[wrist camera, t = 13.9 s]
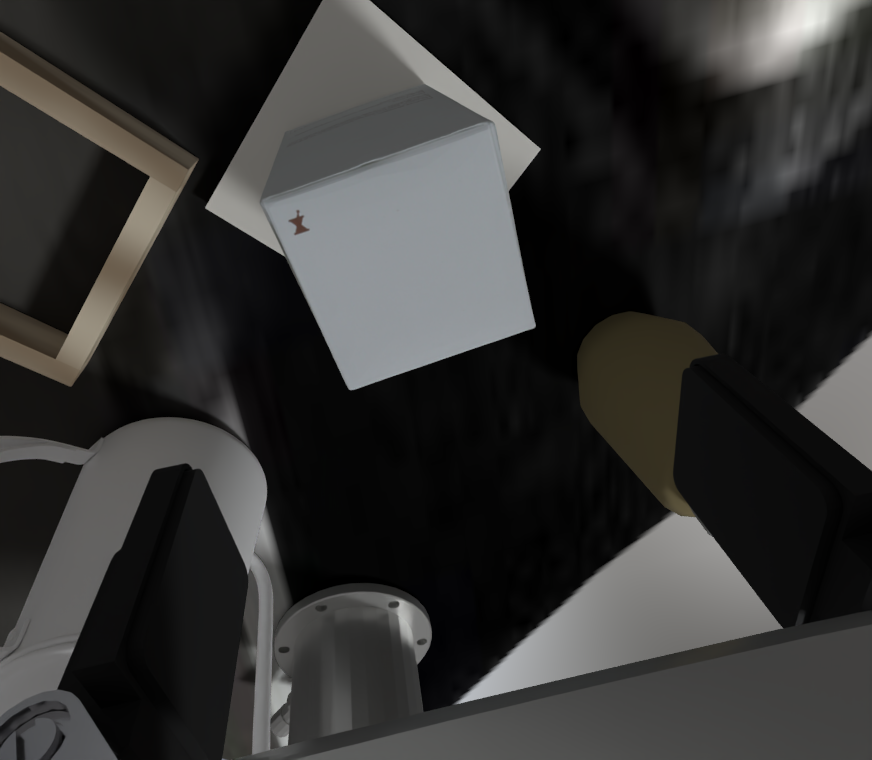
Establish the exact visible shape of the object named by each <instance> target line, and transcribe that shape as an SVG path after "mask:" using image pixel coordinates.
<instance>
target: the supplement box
mask: <svg viewBox="0 0 872 760" xmlns="http://www.w3.org/2000/svg"><path fill="white" fill-rule="evenodd" d="M260 205H261V207H262V209H263V212H264V214H265V216H266V218H267V220H268V222H269V224H270V226H271V228H272V230H273V232H274V234H275V236H276V238H277V240H278V243H279V245H280V247H281V249H282V251H283V253H284V255H285V257H286V259H287V261H288V263H289V265H290V267H291V269H292V271H293V274H294V276H295V278H296V280H297V282H298V284H299V286H300V288H301V290H302V292H303V294H304V296H305V298H306V300H307V302H308V304H309V307H310V309H311V311H312V313H313V315H314V317H315V319H316V321H317V323H318V325H319V327H320V329H321V331H322V333H323V336H324V338H325V340H326V342H327V344H328V346H329V348H330V350H331V353H332V355H333V357H334V359H335V361H336V363H337V366H338V368H339V370H340V372H341V374H342V377H343V379H344V381H345V383H346V385H347V387H348V389H350V390H354V389H357V388H360V387H363V386H366V385H368V384H371V383H374V382H377V381H380V380H383V379H386V378H389V377H391V376H394V375H397V374H400V373H403V372H406V371H409V370H412V369H415V368H418V367H421V366H424V365H427V364H430V363H433V362H436V361H438V360H441V359H444V358H447V357H450V356H453V355H456V354H459V353H462V352H465V351H468V350H470V349H473V348H476V347H479V346H482V345H485V344H488V343H491V342H494V341H497V340H500V339H503V338H506V337H509V336H512V335H515V334H518V333H521V332H524V331H527V330H530V329H533V328H535V326H536V324H535V321H534V317H533V312H532V308H531V303H530V298H529V293H528V289H527V284H526V279H525V274H524V269H523V264H522V259H521V254H520V248H519V243H518V238H517V233H516V228H515V223H514V217H513V212H512V207H511V202H510V197H509V192H508V187H507V181H506V176H505V171H504V166H503V161H502V156H501V151H500V146H499V141H498V136H497V130H496V126H495V124H494V122H493V121H491V120H489V119H487V118H485V117H483V116H481V115H479V114H477V113H476V112H474V111H472V110H470V109H469V108H467V107H465V106H463V105H461V104H460V103H458V102H456V101H454V100H453V99H451V98H449V97H447V96H446V95H444V94H442V93H440V92H438V91H437V90H435V89H433V88H431V87H430V86H428V85H426V84H422V85H418V86H415V87H412V88H409V89H405V90H402V91H399V92H396V93H393V94H390V95H387V96H385V97H382V98H379V99H376V100H373V101H370V102H367V103H364V104H362V105H359V106H356V107H353V108H350V109H348V110H345V111H342V112H339V113H336V114H334V115H331V116H328V117H325V118H322V119H320V120H317V121H314V122H311V123H308V124H306V125H303V126H300V127H297V128H295V129H292V130H289V131H286V132H285V134H284V137H283V139H282V142H281V145H280V147H279V150H278V153H277V155H276V158H275V161H274V163H273V166H272V169H271V172H270V174H269V177H268V180H267V182H266V185H265V188H264V190H263V193H262V196H261V199H260Z"/></svg>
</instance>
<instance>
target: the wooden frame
mask: <svg viewBox="0 0 872 760" xmlns="http://www.w3.org/2000/svg"><path fill="white" fill-rule="evenodd" d="M0 86H2V87H3V88H5V89H7V90H8V91H10V92H12V93H13V94H15V95H17V96H18V97H20V98H22V99H23V100H25V101H27V102H28V103H30V104H32V105H33V106H35V107H36V108H38V109H40V110H41V111H43V112H45V113H46V114H48V115H50V116H51V117H53V118H55V119H56V120H58V121H60V122H61V123H63V124H65V125H66V126H68V127H69V128H71V129H73V130H74V131H76V132H78V133H79V134H81V135H83V136H84V137H86V138H88V139H89V140H91V141H93V142H94V143H96V144H98V145H99V146H101V147H102V148H104V149H106V150H107V151H109V152H111V153H112V154H114V155H116V156H117V157H119V158H121V159H122V160H124V161H126V162H127V163H129V164H130V165H132V166H134V167H135V168H137V169H139V170H140V171H142V172H144V173H145V174H147V175H149V176H150V177H149V179H148V181H147V183H146V185H145V187H144V189H143V191H142V193H141V195H140V197H139V199H138V201H137V203H136V205H135V207H134V208H133V210H132V212H131V214H130V216H129V218H128V220H127V222H126V224H125V226H124V228H123V230H122V232H121V234H120V236H119V237H118V239H117V241H116V243H115V245H114V247H113V249H112V251H111V253H110V255H109V257H108V259H107V261H106V263H105V265H104V267H103V268H102V270H101V272H100V274H99V276H98V278H97V280H96V282H95V284H94V286H93V288H92V290H91V292H90V294H89V296H88V297H87V299H86V301H85V303H84V305H83V307H82V309H81V311H80V313H79V315H78V317H77V319H76V321H75V323H74V325H73V327H72V328H71V330H70V332H69V334H66V333H64V332H62V331H60V330H57V329H55V328H53V327H51V326H49V325H47V324H45V323H42V322H40V321H38V320H36V319H34V318H32V317H30V316H27V315H25V314H23V313H21V312H19V311H17V310H15V309H12V308H10V307H8V306H6V305H4V304H2V303H0V357H2V358H5V359H7V360H9V361H12V362H14V363H16V364H19V365H21V366H23V367H26V368H28V369H30V370H33V371H35V372H37V373H40V374H42V375H44V376H47V377H49V378H51V379H54V380H56V381H58V382H60V383H63V384H65V385H67V386H70V387H71V386H72V385H73V384H74V382H75V381H76V379H77V378H78V377H79V375H80V374H81V372H82V371H83V370H84V368H85V367H86V365H87V364H88V362H89V361H90V359H91V357H92V355H93V353H94V351H95V349H96V348H97V346H98V344H99V342H100V340H101V338H102V337H103V335H104V333H105V331H106V329H107V327H108V326H109V324H110V322H111V320H112V318H113V316H114V314H115V313H116V311H117V309H118V307H119V305H120V303H121V302H122V300H123V298H124V296H125V294H126V292H127V291H128V289H129V287H130V285H131V283H132V281H133V280H134V278H135V276H136V274H137V272H138V270H139V268H140V267H141V265H142V263H143V261H144V259H145V257H146V256H147V254H148V252H149V250H150V248H151V246H152V245H153V243H154V241H155V239H156V237H157V235H158V233H159V232H160V230H161V228H162V226H163V224H164V222H165V221H166V219H167V217H168V215H169V213H170V211H171V210H172V208H173V206H174V204H175V202H176V200H177V199H178V197H179V195H180V193H181V191H182V189H183V187H184V186H185V184H186V182H187V180H188V178H189V176H190V175H191V173H192V171H193V169H194V167H195V165H196V164H197V162H198V160H199V159H198V158H197V157H195V156H194V155H192V154H190V153H189V152H187V151H186V150H184V149H183V148H181V147H180V146H178V145H176V144H175V143H173V142H172V141H170V140H169V139H167V138H166V137H164V136H162V135H161V134H159V133H158V132H156V131H155V130H153V129H151V128H150V127H148V126H147V125H145V124H144V123H142V122H141V121H139V120H137V119H136V118H134V117H133V116H131V115H130V114H128V113H127V112H125V111H123V110H122V109H120V108H119V107H117V106H116V105H114V104H112V103H111V102H109V101H108V100H106V99H105V98H103V97H102V96H100V95H98V94H97V93H95V92H94V91H92V90H91V89H89V88H88V87H86V86H84V85H83V84H81V83H80V82H78V81H77V80H75V79H74V78H72V77H70V76H69V75H67V74H66V73H64V72H63V71H61V70H59V69H58V68H56V67H55V66H53V65H52V64H50V63H49V62H47V61H45V60H44V59H42V58H41V57H39V56H38V55H36V54H35V53H33V52H31V51H30V50H28V49H27V48H25V47H24V46H22V45H20V44H19V43H17V42H16V41H14V40H13V39H11V38H10V37H8V36H6V35H5V34H3V33H2V32H0Z"/></svg>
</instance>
